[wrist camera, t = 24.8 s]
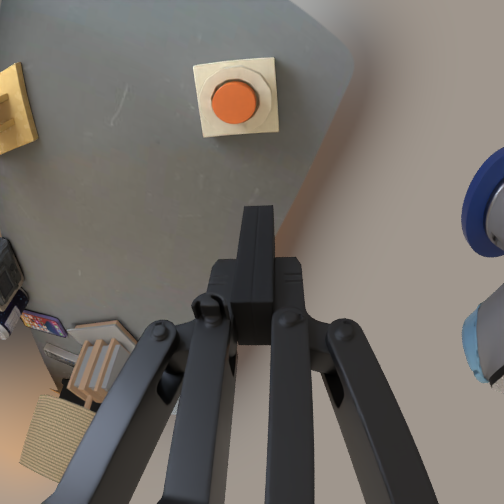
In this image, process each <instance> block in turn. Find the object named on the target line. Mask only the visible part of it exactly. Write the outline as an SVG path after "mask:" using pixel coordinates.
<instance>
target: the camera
mask: <svg viewBox="0 0 504 504" xmlns="http://www.w3.org/2000/svg"><path fill="white" fill-rule="evenodd" d="M23 281H24V277H23V274H22V272H21V270H20V267H19V265H18V263H17V260H16V258H15V256H14V253H13V251H12V249H11V246H10V244H9V241H8V240H5V239H4V238H0V311H2V312H3V311H5V309H6V308H7V306H8V305H9V303H10V302H11V300H12V299H13V297H14V295H15V294H16V292H17V291H18V289H19V288H20V287H21V286H22V284H23Z"/></svg>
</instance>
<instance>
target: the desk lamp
mask: <svg viewBox="0 0 504 504" xmlns="http://www.w3.org/2000/svg"><path fill="white" fill-rule="evenodd" d="M67 332H68V333H69V334H70V335H71V336H72V337H73V338H74V339H75V340H76V341H77V342H78V343H79V344H80V345H81V346H82V349H81V351H80V354H79V356H78V359H77V361H76V364H75V367H74V369H73V372H72V375H71V377H70V380H69V383H68V386H67V389H69V390H70V391H71V392H73V393H74V394H76V395H77V396H78V397H80V398H81V399H83V400H84V401H86V402H85V405H84V407H82V406H80V405H77V404H75V403H72V402H69V401H67V400H64V399H61V398H57V397H54V396H50V395H40V398H39V400H38V403H37V406H36V409H35V412H34V415H33V418H32V421H31V424H30V427H29V430H28V433H27V437H26V440H25V444H24V447H23V451H22V454H21V458H20V462H19V463H20V464H22V465H24V466H26V467H27V468H29V469H31V470H33V471H34V472H36V473H38V474H40V475H42V476H45V477H47V478H49V479H51V480H53V481H56V482H58V483H59V482H60V480H61V478H62V476H63V474H64V472H65V470H66V468H67V466H68V464H69V462H70V461H71V459H72V457H73V455H74V453H75V451H76V449H77V447H78V445H79V443H80V442H81V440H82V438H83V436H84V434H85V432H86V430H87V429H88V427H89V425H90V423H91V421H92V420H93V418H94V416H95V414H96V413H95V412H93V411H91V410H90V407H91V404H92V400H93V401H95V402H96V403H102V402H103V400H104V398H105V397H106V395H107V393H108V391H109V390H110V388H111V386H112V384H113V383H114V381H115V379H116V378H117V376H118V374H119V372H120V371H121V369H122V367H123V366H124V364H125V362H126V361H127V359H128V357H129V356H130V354H131V352H132V351H133V349H134V347H135V346H136V344H137V341H136V340H135V339H134V338H133V337H132V335H131V334H130V333H129V332H128V331H127V330H126V329H125V328H124V327H123V326H122V325H121V324H120V323H119V321H118V320H115V321H107V322H100V323H92V324H83V325H76V327H75V329H67Z"/></svg>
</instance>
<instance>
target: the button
mask: <svg viewBox="0 0 504 504" xmlns="http://www.w3.org/2000/svg"><path fill="white" fill-rule="evenodd" d="M256 102H257V100H256V95H255V92H254V91H253V89H252V88H251V87H250V86H249V85H247V84H245V83H243V82H239V81H233V82H228V83H226V84H224V85H223V86H221V87H220V88H219V89H218V90H217V91H216V93H215V94H214V97H213V100H212V107H213V111H214V113H215V114H216V116H217V117H218V118H219V119H220V120H222V121H223V122H226V123H229V124H239V123H243V122H245V121H247V120H248V119H249V118H250V117H251V116H252V115H253V113H254V111H255V108H256Z"/></svg>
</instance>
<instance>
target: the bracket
mask: <svg viewBox="0 0 504 504" xmlns="http://www.w3.org/2000/svg"><path fill="white" fill-rule="evenodd" d="M38 138H39V137H38V134H37V130H36V127H35V123H34V120H33V116H32V112H31V108H30V104H29V100H28V96H27V92H26V87H25V83H24V78H23V73H22V67H21V62H18V63H15V64H13V65H12V66H10V67H9V68H7V69H5V70H4V71H2V72H1V73H0V155H1V154H3V153H5V152H8V151H10V150H13V149H15V148H18V147H20V146H23V145H25V144H28V143H30V142H33V141H35V140H37V139H38Z"/></svg>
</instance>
